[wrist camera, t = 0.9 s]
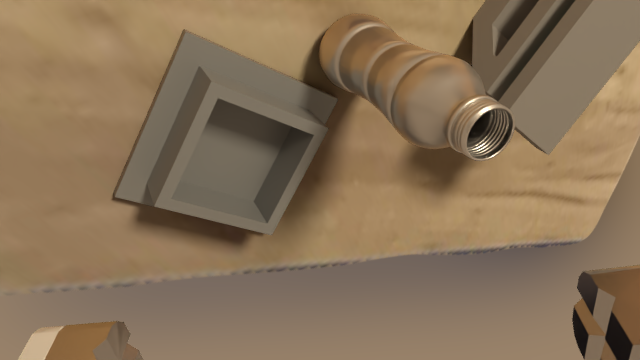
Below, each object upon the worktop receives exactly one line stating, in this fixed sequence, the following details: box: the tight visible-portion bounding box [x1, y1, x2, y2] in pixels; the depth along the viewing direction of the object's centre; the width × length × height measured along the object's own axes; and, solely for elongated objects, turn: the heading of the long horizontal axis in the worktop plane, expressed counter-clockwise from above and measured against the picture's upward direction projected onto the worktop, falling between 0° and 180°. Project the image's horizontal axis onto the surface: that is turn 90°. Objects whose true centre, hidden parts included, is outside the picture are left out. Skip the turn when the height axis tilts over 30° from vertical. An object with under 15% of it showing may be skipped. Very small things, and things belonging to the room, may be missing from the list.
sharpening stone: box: [472, 0, 640, 155], centre depth 49 cm, size 25×8×11 cm, turn 142°
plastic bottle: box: [319, 14, 515, 161], centre depth 40 cm, size 6×7×20 cm
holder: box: [114, 29, 338, 235], centre depth 46 cm, size 15×15×5 cm
